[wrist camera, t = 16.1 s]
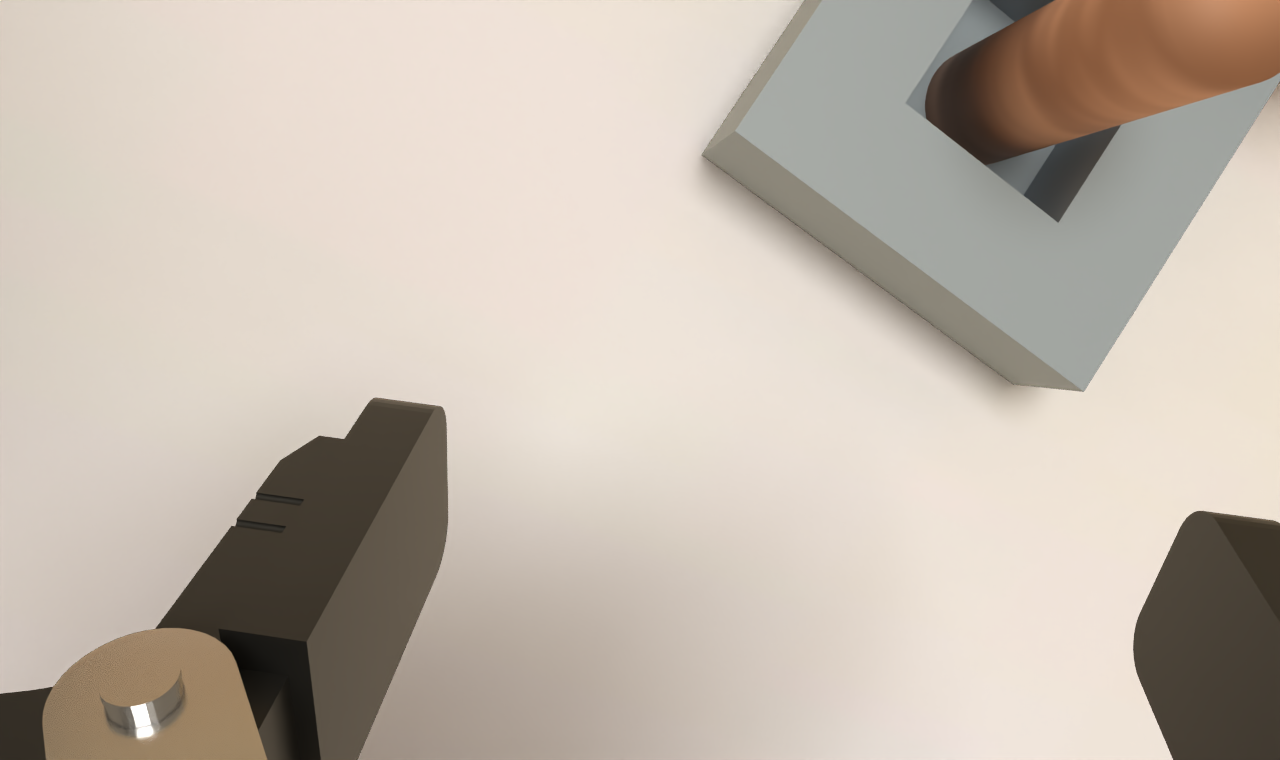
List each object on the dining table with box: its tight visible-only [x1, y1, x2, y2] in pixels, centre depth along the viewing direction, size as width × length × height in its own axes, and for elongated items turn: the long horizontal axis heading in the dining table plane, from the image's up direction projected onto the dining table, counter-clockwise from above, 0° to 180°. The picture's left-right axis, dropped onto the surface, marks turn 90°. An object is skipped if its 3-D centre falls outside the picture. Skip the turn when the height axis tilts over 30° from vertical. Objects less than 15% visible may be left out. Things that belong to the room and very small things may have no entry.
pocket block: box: [702, 0, 1280, 392], centre depth 28 cm, size 12×12×4 cm
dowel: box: [925, 0, 1280, 165], centre depth 24 cm, size 3×3×10 cm
